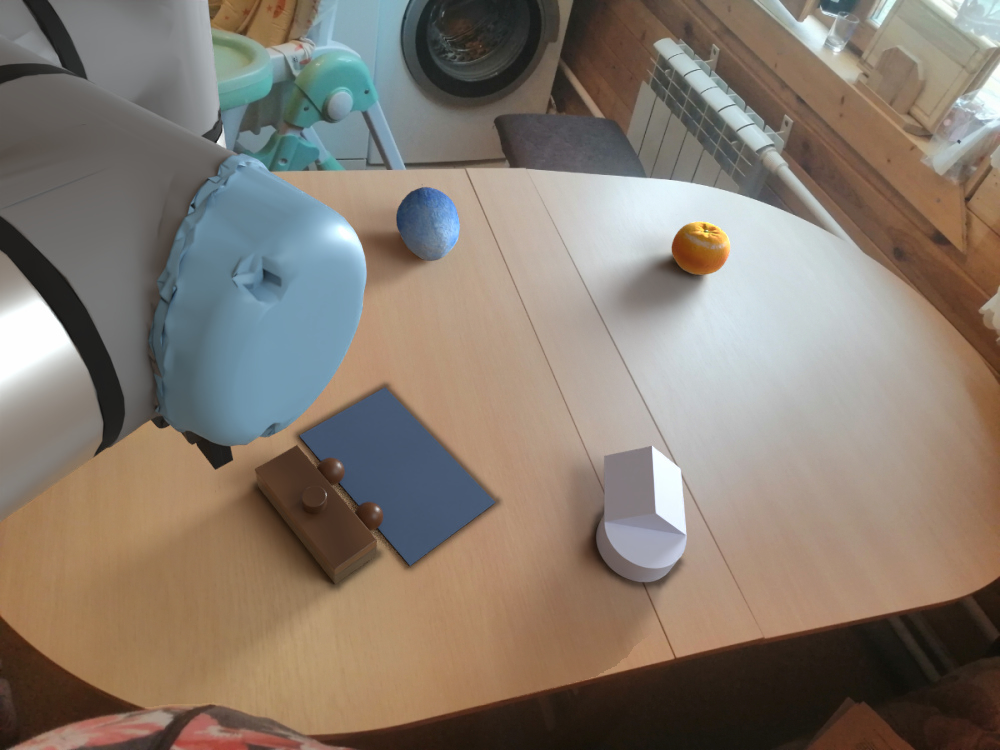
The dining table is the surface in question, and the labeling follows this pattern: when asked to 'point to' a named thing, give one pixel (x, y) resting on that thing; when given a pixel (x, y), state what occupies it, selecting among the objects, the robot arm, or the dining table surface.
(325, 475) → the ball
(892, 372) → the dining table surface
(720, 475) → the dining table surface
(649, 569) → the wedge on round base
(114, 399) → the robot arm
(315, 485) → the brown block with knob
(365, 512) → the ball
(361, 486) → the mat
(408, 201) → the egg
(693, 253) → the fruit
